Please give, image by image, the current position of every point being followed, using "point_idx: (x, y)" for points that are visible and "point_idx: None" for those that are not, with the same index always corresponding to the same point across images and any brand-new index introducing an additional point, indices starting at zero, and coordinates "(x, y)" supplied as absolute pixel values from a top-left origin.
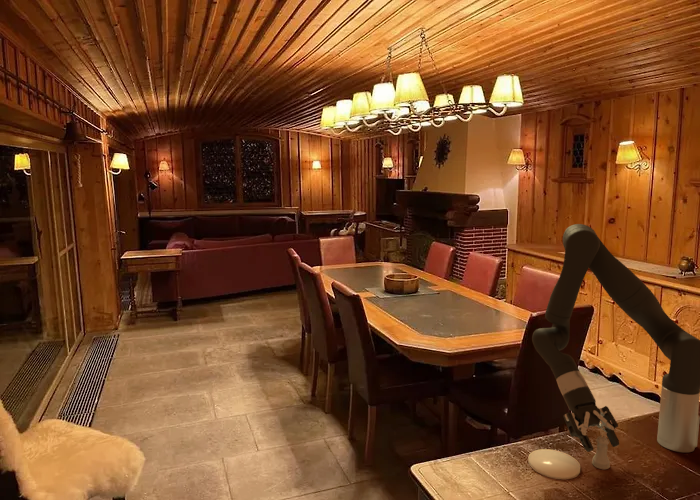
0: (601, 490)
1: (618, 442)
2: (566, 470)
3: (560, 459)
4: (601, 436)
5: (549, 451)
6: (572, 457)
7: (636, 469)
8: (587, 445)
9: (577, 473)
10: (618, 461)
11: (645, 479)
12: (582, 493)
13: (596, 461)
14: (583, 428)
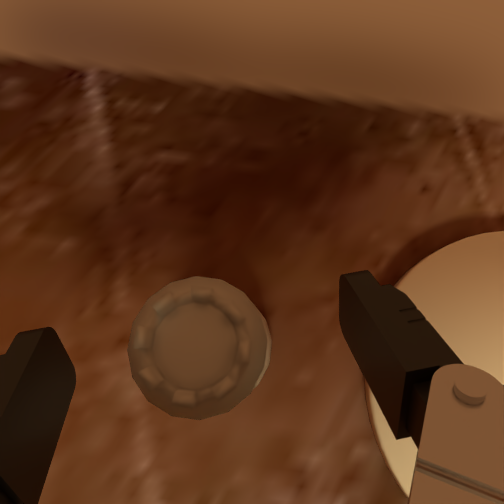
0: (356, 129)
1: (17, 338)
2: (493, 283)
3: None
4: (180, 389)
5: None
6: (385, 430)
7: (26, 276)
8: (398, 301)
9: (430, 255)
10: None
11: (57, 181)
12: (464, 121)
13: (264, 325)
14: (484, 463)
